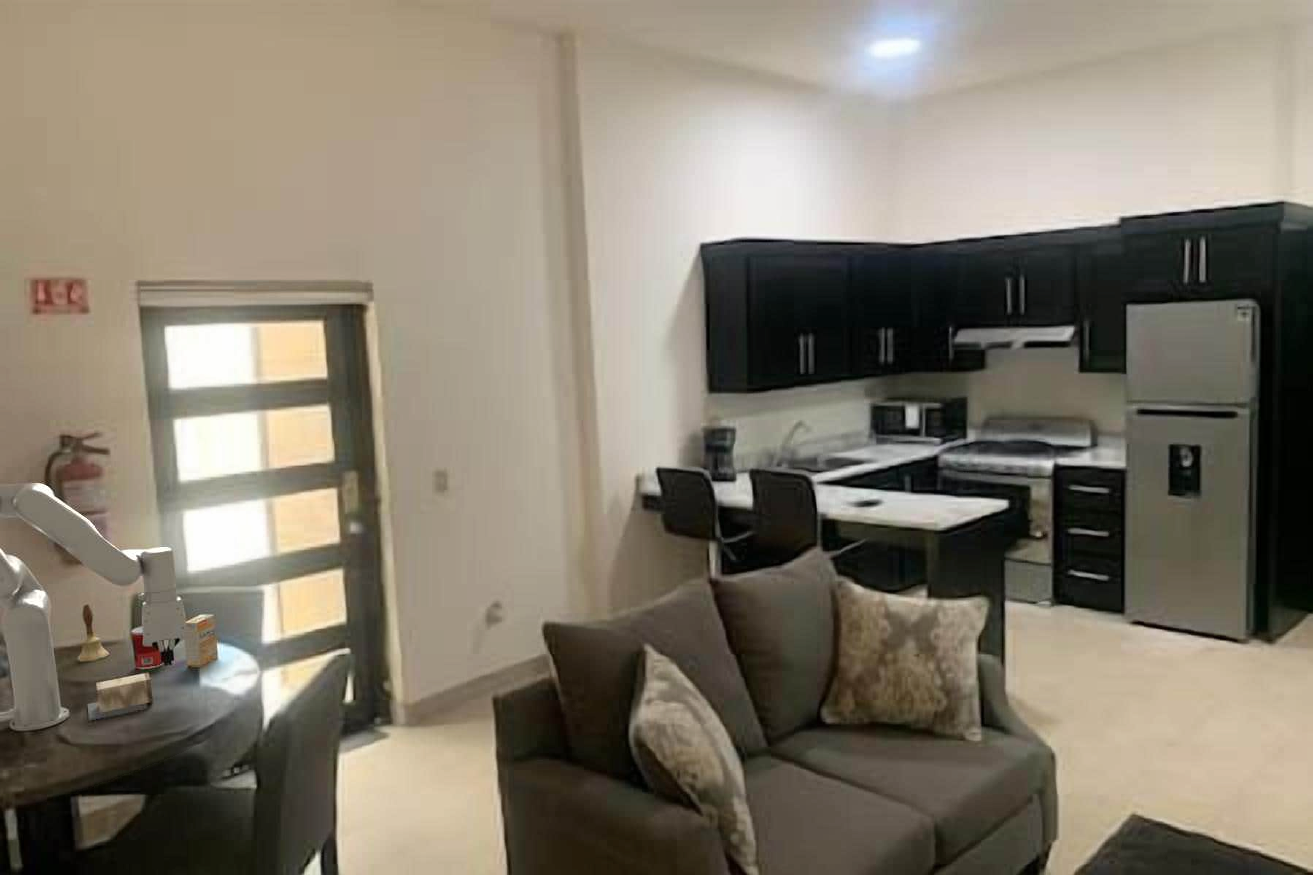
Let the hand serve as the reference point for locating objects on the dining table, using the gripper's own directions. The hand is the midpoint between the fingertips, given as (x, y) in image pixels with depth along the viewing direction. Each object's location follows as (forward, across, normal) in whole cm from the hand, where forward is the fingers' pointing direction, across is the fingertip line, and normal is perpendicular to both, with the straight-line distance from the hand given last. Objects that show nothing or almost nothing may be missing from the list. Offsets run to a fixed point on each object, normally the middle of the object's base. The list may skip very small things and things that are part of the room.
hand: (168, 663), depth 266 cm
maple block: (+5, -4, 0) cm, 7 cm away
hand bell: (+9, -16, +51) cm, 54 cm away
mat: (+9, -12, 0) cm, 15 cm away
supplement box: (+9, +10, +24) cm, 28 cm away
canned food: (+9, -2, +31) cm, 32 cm away
